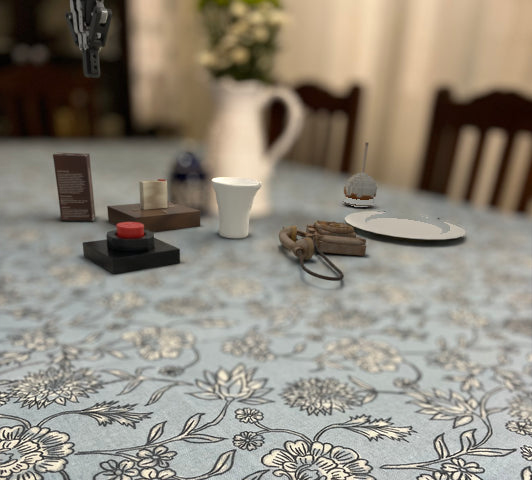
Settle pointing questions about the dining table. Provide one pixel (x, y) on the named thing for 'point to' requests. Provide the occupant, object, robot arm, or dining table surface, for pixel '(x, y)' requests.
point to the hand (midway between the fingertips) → (92, 77)
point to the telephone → (322, 243)
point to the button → (130, 229)
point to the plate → (402, 228)
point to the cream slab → (153, 194)
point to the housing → (130, 252)
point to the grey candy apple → (361, 184)
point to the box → (74, 186)
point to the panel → (155, 216)
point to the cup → (234, 204)
